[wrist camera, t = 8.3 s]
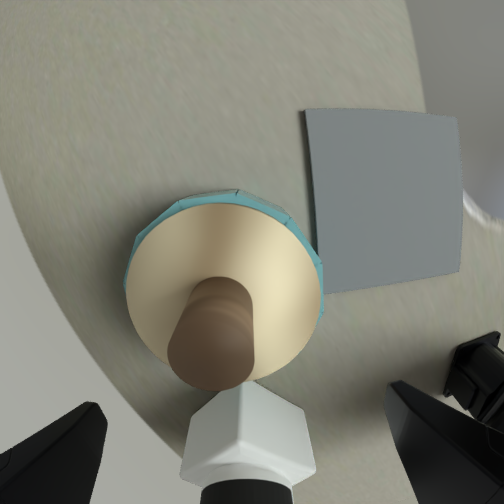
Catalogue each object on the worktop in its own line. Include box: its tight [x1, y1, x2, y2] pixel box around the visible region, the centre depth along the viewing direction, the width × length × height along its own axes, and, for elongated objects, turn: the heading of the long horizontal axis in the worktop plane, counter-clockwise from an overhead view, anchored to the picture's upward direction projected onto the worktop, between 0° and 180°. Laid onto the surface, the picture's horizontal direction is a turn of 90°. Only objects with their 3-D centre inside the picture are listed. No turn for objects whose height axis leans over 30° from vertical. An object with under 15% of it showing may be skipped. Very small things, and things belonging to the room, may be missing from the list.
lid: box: [126, 202, 321, 391], centre depth 13 cm, size 10×10×6 cm
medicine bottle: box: [180, 380, 316, 504], centre depth 17 cm, size 7×7×12 cm
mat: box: [304, 109, 463, 294], centre depth 18 cm, size 12×12×1 cm
